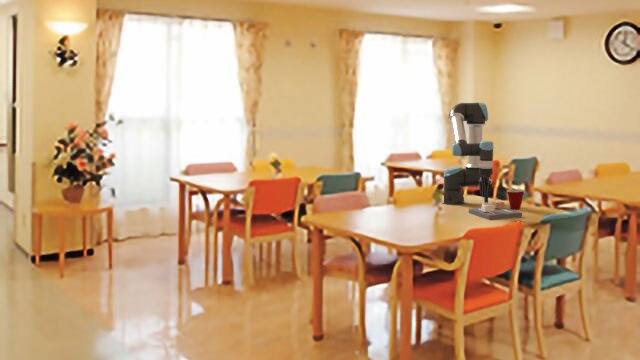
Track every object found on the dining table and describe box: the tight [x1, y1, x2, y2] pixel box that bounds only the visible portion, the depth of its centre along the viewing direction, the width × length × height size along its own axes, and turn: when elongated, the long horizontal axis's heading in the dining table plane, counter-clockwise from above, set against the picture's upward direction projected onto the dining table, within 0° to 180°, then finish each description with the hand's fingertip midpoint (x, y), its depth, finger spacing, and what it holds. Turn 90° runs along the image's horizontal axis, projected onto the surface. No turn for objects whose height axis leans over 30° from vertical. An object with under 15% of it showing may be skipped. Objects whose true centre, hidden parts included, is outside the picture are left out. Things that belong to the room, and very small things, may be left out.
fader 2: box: [491, 200, 505, 208], centre depth 388 cm, size 4×6×4 cm, turn 108°
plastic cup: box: [506, 189, 525, 211], centre depth 398 cm, size 11×11×12 cm
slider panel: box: [468, 207, 523, 220], centre depth 381 cm, size 22×22×3 cm
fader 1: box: [480, 203, 494, 212], centre depth 377 cm, size 4×6×4 cm, turn 108°
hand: (484, 207), depth 379 cm, fingers closed
